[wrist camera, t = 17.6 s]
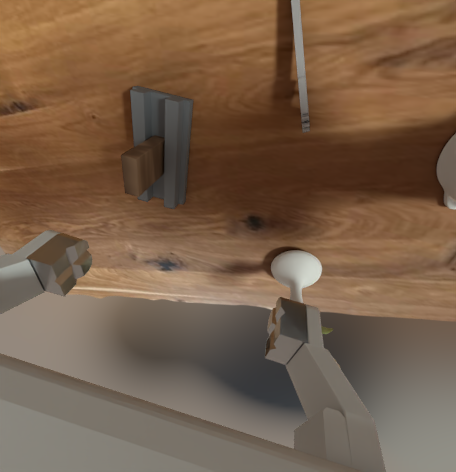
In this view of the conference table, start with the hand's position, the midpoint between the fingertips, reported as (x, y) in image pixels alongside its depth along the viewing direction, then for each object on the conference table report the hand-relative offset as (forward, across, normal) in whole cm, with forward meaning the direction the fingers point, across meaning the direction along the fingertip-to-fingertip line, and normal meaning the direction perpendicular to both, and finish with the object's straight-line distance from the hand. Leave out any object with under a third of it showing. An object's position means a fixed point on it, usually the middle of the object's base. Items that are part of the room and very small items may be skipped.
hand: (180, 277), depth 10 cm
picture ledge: (+37, +17, +11) cm, 42 cm away
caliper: (+38, -3, -8) cm, 39 cm away
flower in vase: (+37, -17, +30) cm, 51 cm away
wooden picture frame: (+36, +17, +11) cm, 41 cm away
